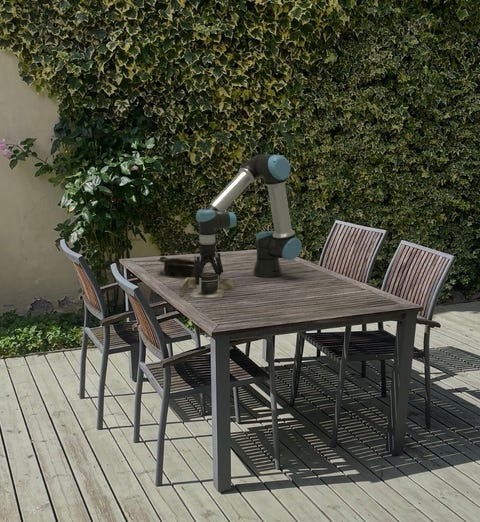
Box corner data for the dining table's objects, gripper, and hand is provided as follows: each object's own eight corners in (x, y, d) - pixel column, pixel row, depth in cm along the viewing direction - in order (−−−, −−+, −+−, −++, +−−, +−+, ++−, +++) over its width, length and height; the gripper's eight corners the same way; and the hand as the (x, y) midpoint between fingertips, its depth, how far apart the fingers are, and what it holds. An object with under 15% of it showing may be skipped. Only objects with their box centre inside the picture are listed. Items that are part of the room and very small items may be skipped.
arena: (233, 288, 362) (233, 278, 361) (229, 298, 343) (229, 287, 342) (186, 287, 364) (186, 277, 363) (179, 297, 345) (179, 286, 344)
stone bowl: (151, 276, 387) (151, 259, 386) (171, 270, 411) (171, 254, 410) (194, 279, 379) (194, 261, 378) (212, 273, 402) (213, 256, 401)
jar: (194, 288, 354) (193, 273, 352) (213, 286, 358) (213, 271, 356) (202, 293, 345) (201, 277, 343) (221, 291, 349) (221, 275, 347)
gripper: (221, 239, 357) (221, 284, 361) (183, 244, 343) (184, 291, 347) (231, 241, 351) (231, 287, 356) (192, 246, 337) (193, 294, 341)
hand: (207, 289), depth 351 cm, fingers closed on jar, 10 cm apart
